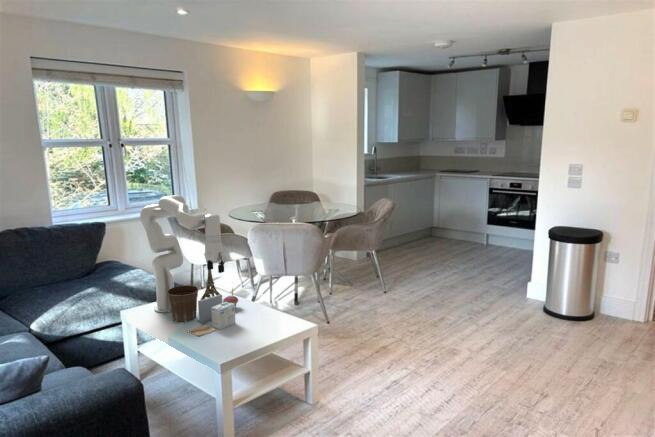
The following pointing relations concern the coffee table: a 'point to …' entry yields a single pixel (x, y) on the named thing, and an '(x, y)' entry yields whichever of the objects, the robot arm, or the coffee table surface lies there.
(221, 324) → the light bulb box
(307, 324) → the coffee table surface
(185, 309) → the plant pot
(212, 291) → the eiffel tower
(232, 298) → the cupcake
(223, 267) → the robot arm
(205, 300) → the screen
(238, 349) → the coffee table surface
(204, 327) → the coaster
